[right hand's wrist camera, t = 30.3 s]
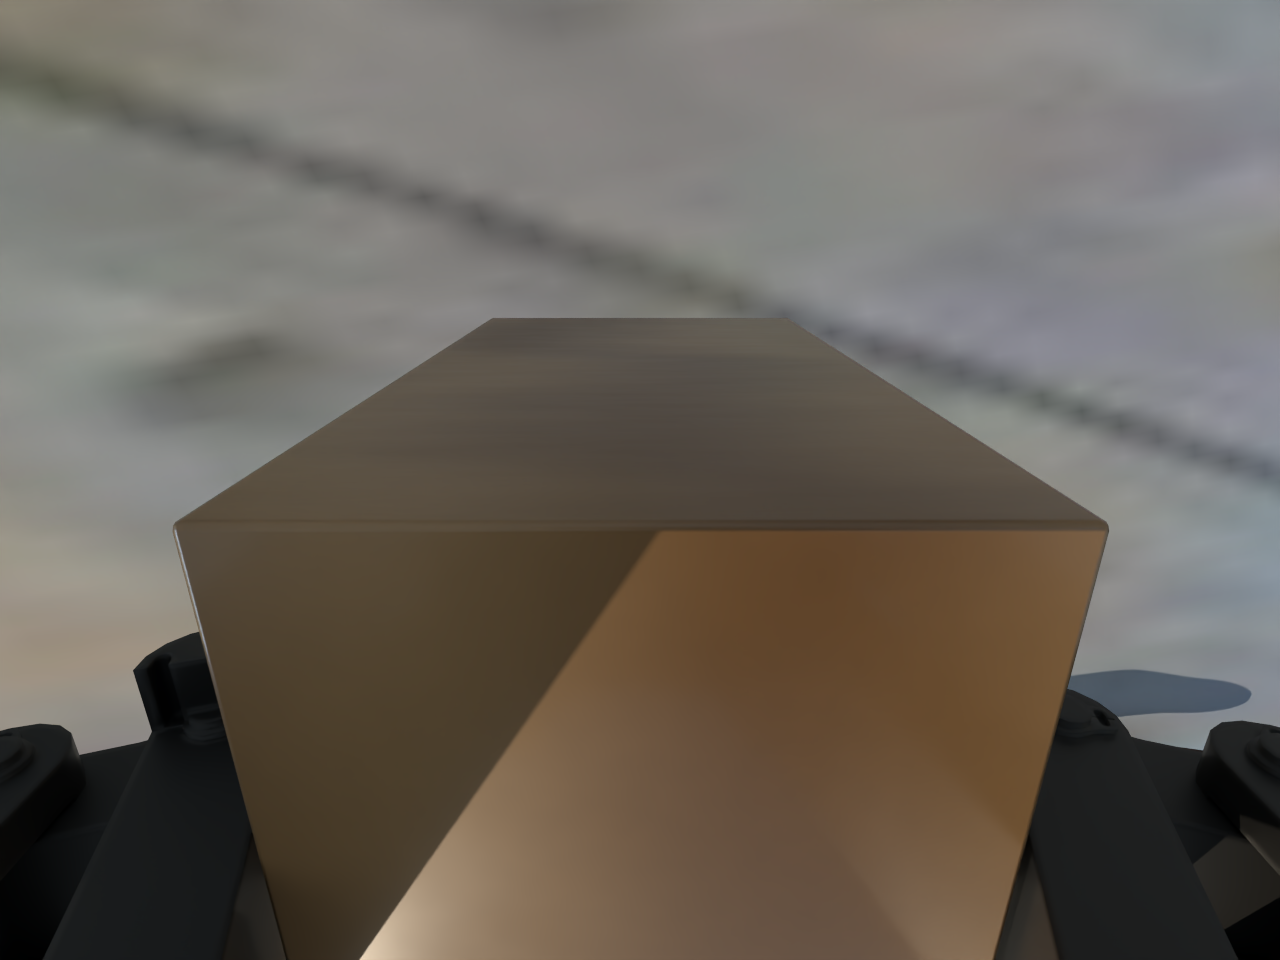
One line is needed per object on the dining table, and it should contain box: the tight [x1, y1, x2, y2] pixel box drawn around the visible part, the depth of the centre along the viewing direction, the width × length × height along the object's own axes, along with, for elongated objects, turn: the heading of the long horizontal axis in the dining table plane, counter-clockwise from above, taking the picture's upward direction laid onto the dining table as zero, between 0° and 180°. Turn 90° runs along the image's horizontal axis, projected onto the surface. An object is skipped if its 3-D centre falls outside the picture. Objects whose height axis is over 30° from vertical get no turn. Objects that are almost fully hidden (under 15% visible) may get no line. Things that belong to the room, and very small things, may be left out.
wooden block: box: [173, 318, 1109, 960], centre depth 11 cm, size 6×9×10 cm
